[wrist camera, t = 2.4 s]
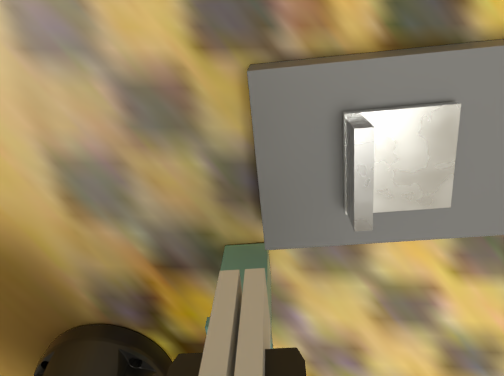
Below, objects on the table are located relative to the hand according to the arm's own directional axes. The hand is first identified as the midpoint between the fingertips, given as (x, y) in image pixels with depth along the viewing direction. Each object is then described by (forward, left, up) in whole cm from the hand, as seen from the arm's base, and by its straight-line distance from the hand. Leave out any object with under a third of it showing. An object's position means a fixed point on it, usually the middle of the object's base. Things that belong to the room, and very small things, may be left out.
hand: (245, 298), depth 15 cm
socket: (+10, 0, -19) cm, 22 cm away
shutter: (+10, 0, -15) cm, 18 cm away
